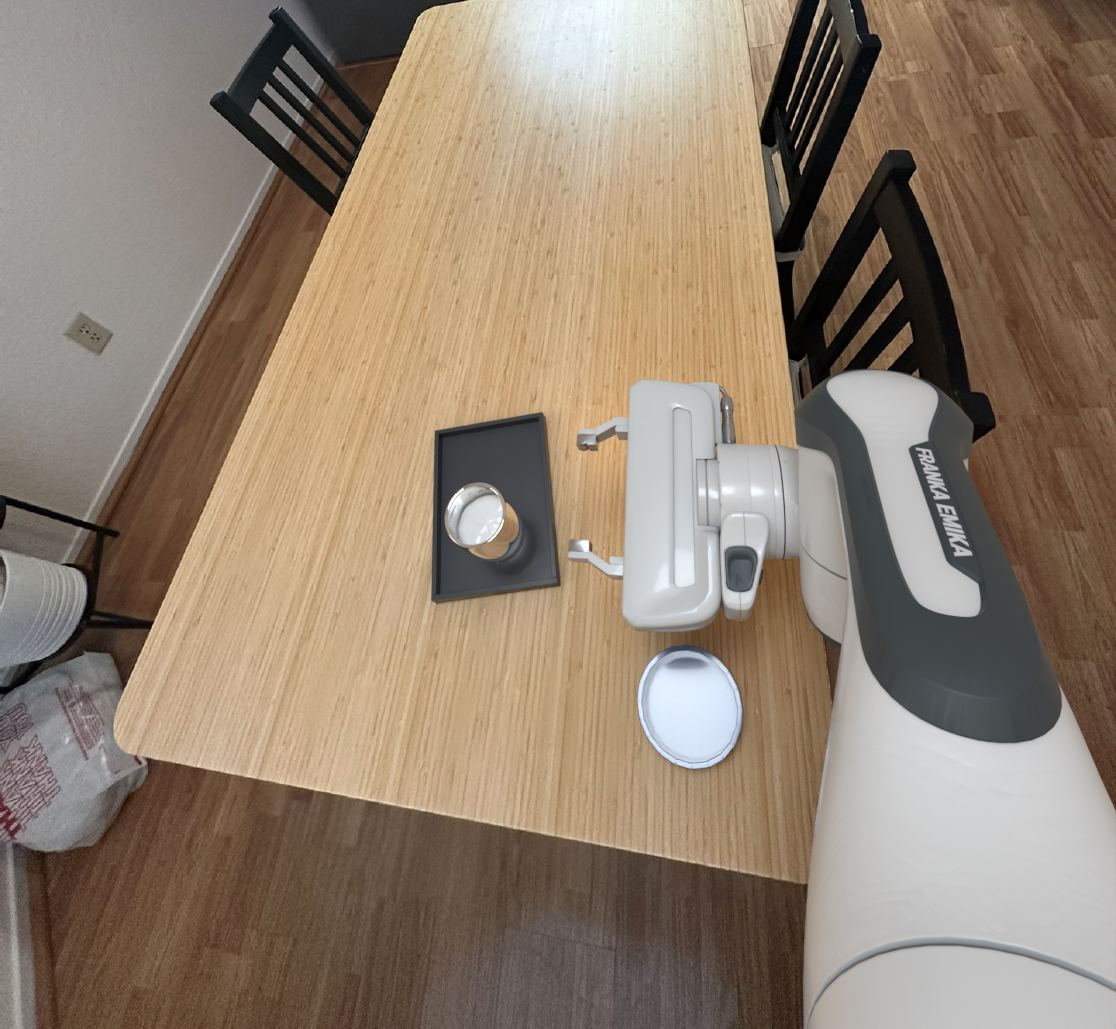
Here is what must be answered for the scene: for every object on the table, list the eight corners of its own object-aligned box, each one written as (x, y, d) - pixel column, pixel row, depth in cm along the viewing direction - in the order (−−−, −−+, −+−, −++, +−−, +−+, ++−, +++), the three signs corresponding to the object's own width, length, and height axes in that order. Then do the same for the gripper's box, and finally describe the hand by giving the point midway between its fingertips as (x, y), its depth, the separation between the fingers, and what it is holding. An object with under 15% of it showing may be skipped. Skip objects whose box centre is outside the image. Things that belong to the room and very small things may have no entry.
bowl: (752, 760, 61) (754, 762, 58) (650, 771, 62) (647, 774, 59) (726, 643, 67) (727, 639, 63) (634, 655, 68) (629, 651, 64)
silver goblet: (475, 535, 78) (432, 503, 66) (524, 505, 79) (490, 467, 67) (499, 588, 74) (457, 564, 62) (549, 556, 75) (518, 526, 63)
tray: (560, 585, 73) (557, 583, 72) (436, 603, 75) (430, 600, 74) (545, 417, 86) (542, 411, 84) (439, 435, 87) (434, 430, 86)
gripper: (733, 366, 54) (576, 367, 57) (751, 634, 43) (555, 618, 46) (731, 396, 60) (587, 395, 62) (746, 643, 48) (570, 628, 51)
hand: (573, 492), depth 54 cm, fingers open, 8 cm apart
